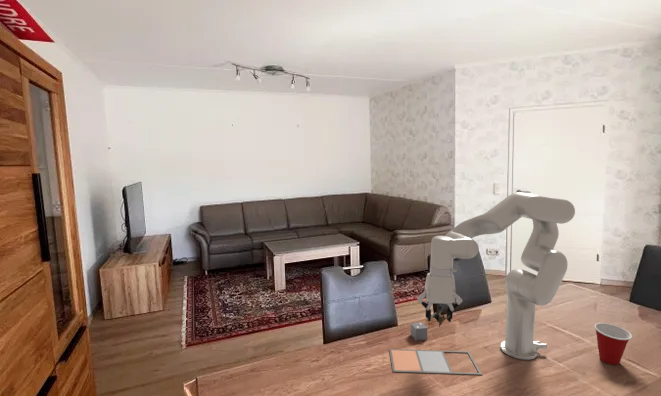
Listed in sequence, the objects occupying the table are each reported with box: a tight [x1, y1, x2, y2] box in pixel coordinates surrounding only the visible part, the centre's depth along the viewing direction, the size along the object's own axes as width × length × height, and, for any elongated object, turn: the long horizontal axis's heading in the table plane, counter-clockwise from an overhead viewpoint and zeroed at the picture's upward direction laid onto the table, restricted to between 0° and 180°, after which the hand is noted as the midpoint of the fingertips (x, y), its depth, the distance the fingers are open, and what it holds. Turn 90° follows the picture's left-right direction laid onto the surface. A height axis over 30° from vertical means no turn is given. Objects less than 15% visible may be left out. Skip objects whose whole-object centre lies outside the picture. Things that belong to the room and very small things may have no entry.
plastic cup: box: [594, 322, 633, 366], centre depth 132 cm, size 11×11×12 cm
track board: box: [388, 348, 483, 376], centre depth 133 cm, size 30×15×1 cm, turn 86°
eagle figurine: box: [431, 304, 450, 328], centre depth 132 cm, size 8×7×9 cm
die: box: [410, 321, 428, 341], centre depth 151 cm, size 5×5×5 cm
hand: (438, 319), depth 131 cm, fingers closed on eagle figurine, 6 cm apart
